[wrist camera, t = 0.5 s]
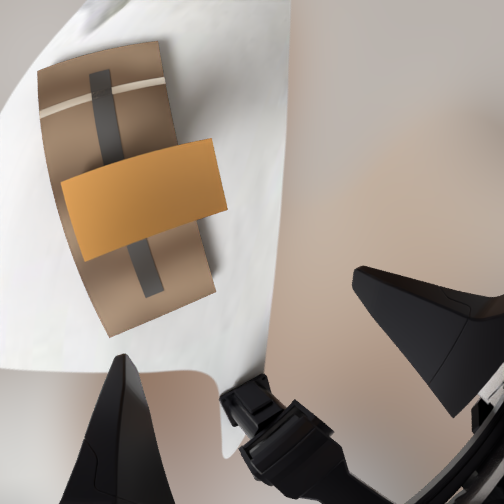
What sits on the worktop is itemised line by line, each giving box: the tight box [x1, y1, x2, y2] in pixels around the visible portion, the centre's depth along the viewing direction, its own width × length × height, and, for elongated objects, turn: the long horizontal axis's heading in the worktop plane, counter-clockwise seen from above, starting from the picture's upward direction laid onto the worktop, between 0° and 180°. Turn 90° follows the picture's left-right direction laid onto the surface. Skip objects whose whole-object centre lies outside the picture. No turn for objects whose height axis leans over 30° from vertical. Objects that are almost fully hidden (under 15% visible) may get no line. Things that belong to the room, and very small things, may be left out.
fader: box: [61, 138, 228, 262], centre depth 12 cm, size 4×6×12 cm, turn 102°
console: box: [37, 41, 216, 338], centre depth 18 cm, size 22×10×2 cm, turn 12°
